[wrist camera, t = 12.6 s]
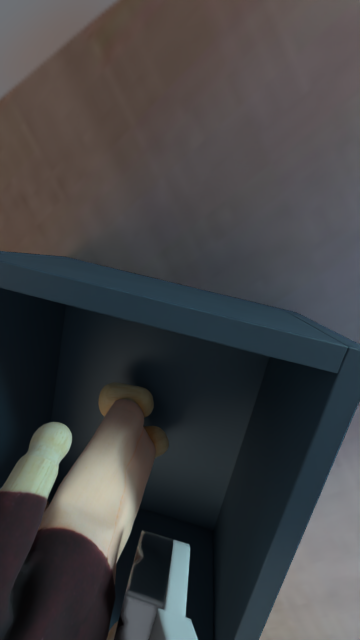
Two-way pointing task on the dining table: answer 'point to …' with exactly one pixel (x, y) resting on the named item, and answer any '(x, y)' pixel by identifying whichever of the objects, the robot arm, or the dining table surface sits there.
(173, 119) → the dining table surface
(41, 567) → the grandmother figurine
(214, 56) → the dining table surface
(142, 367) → the bin
